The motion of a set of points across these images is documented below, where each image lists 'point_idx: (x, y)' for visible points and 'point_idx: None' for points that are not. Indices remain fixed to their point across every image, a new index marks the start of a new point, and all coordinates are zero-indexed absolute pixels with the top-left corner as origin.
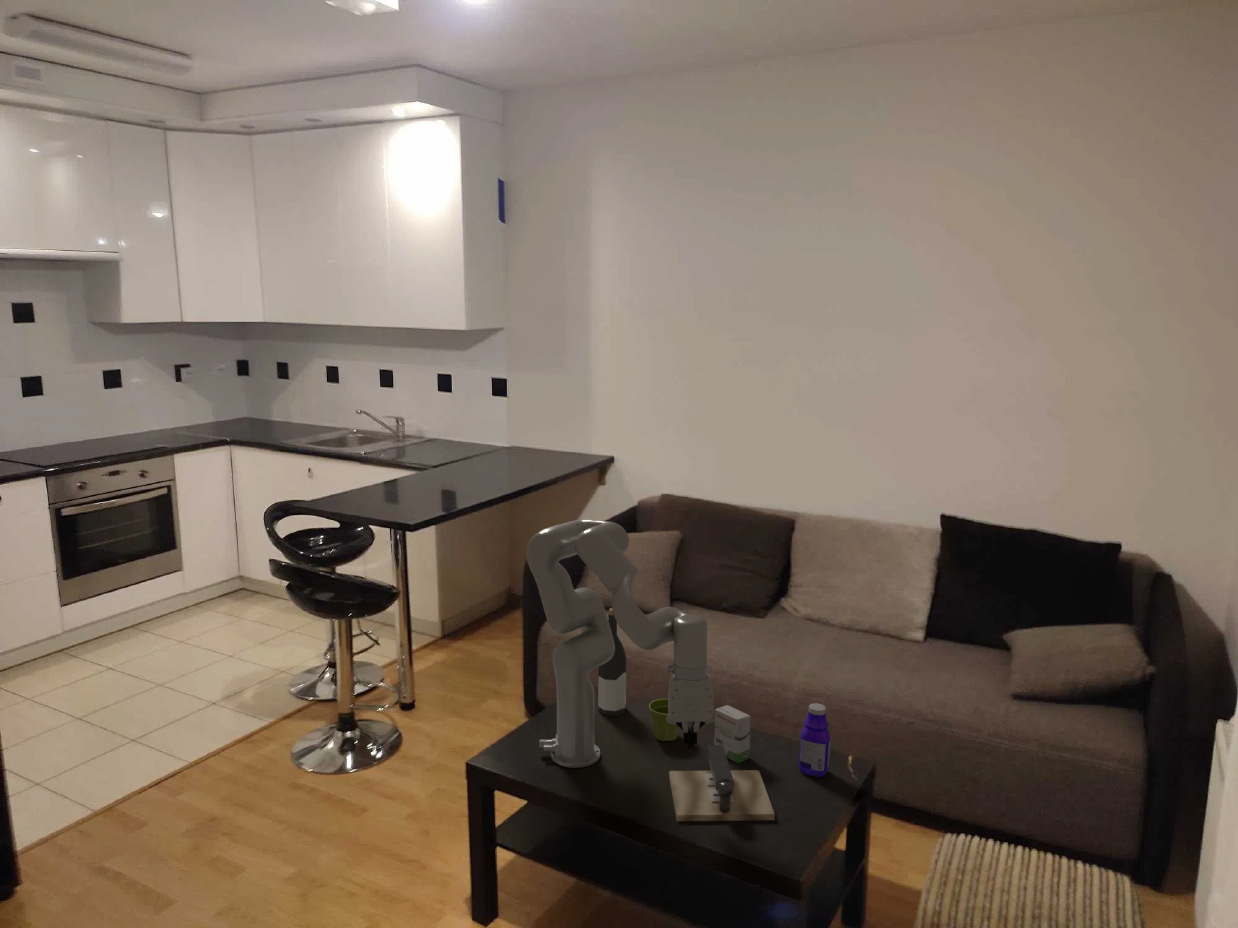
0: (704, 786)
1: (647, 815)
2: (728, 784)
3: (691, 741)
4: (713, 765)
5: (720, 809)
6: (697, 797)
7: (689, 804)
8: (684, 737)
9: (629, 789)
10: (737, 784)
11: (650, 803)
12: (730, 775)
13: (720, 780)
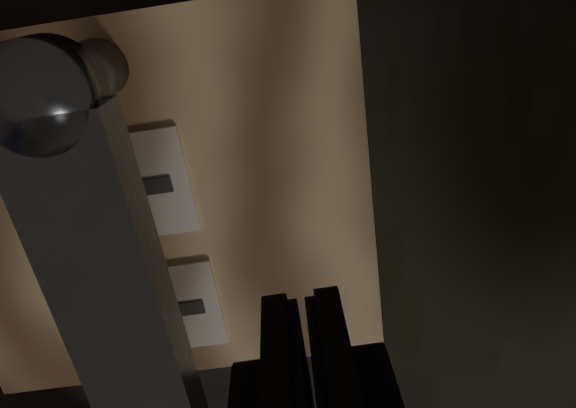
0: (222, 254)
1: (499, 12)
2: (3, 85)
3: (297, 353)
4: (148, 303)
5: (117, 50)
6: (250, 161)
7: (287, 92)
8: (396, 400)
9: (559, 221)
10: None
11: (474, 122)
12: (17, 205)
13: (72, 132)
